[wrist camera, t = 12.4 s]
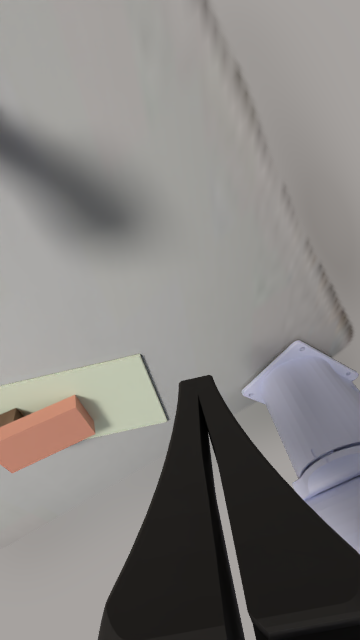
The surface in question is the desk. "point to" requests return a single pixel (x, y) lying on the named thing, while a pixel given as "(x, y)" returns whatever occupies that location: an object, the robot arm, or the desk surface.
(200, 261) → the desk surface
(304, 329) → the desk surface
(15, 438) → the domino
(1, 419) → the domino
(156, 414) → the runner mat
